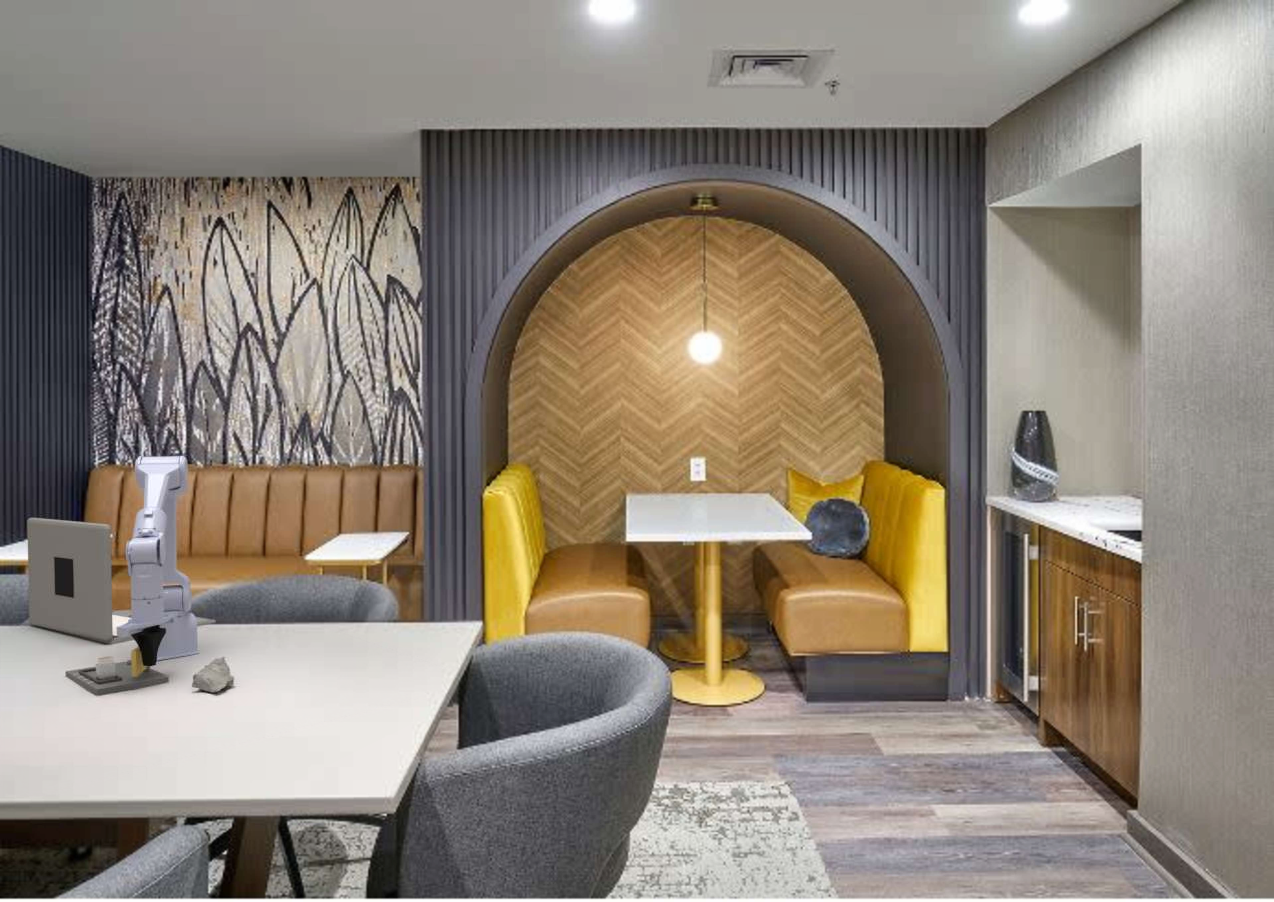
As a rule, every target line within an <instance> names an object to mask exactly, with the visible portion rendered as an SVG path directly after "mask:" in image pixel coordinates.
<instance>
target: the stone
mask: <svg viewBox="0 0 1274 902" xmlns="http://www.w3.org/2000/svg"><path fill="white" fill-rule="evenodd" d="M230 669H231V668H230V665H228V662H227V661H226V660H225V656H223V657H220V658H218V657H217V658H214V659H212V660H211V662H209V663H208V664H207V665H205V666H204V667H203V668H201V670H199V671H198V672H196V673H195V674H193V676H192V682H191V687H192V688H195V689H199V690H203V691H205V692H210V693H216V692H217V693H218V692H220V691H221V690H222V689H224V688H226V687H227V686H234V685H235V684H234V682H235V677H234V675H232V674H231V670H230Z"/></svg>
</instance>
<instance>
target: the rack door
mask: <svg viewBox="0 0 1274 902" xmlns="http://www.w3.org/2000/svg"><path fill="white" fill-rule="evenodd" d="M126 662H127V665H132V677H135V676H137V675H139V674H140V673H141V672H143V671H144V670H145V669H147V666H143V663H142V655H141V651H140V648H139V647H138V646H137V647H135V648H134V649H132V650H131V659H127V660H126Z"/></svg>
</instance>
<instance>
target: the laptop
mask: <svg viewBox="0 0 1274 902" xmlns="http://www.w3.org/2000/svg"><path fill="white" fill-rule="evenodd" d="M26 524H27V526H26V527H27V565H28V567H27V568H28V570H27V571H28V573H27V575H28V606H29V607H28V611H29V613H28V616H29V617H28V618H29V619H28V620H29V624H30V625H33V626H36V627H41V628H44V629H48V630H52V631H57V632H61V633H65V634H68V635H69V634H70V635H73V636H78V637H81V638H85V639H87V640H88V639H90V640H92V641H97V642H100V643H104V644H109V645H117V644H121V643H126V642H130V641H135V640H134V639H133V637H132V636H131V635H129V636H128V637H117V627H118V626H121V625H123V624H125V623H127V622H128V620H129V619H132V610H131V608H128V609H125V608H123V609H118V610H117V609H116V610H113V591H112V590H113V586H112V583H113V581H112V545H111V542H112V540H111V539H112V538H111V537H112V536H111V531H112V529H111V526H110V524H107V523H96V522H95V523H94V522H86V521H85V522H84V521H74V520H73V521H72V520H62V519H51V518H42V517H41V518H39V517H30V518H28V519H27V522H26ZM195 618H196V621H197V627H202V626H205V625H206V626H207V625H211V624H215V623H216V622H217V621H216V619H211V618H206V617H202V616H200V617H199V616H195Z"/></svg>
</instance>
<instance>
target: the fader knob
mask: <svg viewBox="0 0 1274 902" xmlns="http://www.w3.org/2000/svg"><path fill="white" fill-rule="evenodd" d="M95 667H96V679H97V680H99V681H105V680H110V679H116V676H115V662H114V656H112V655H111V656H104V657H98V658H97V663H96V664H95Z"/></svg>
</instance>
